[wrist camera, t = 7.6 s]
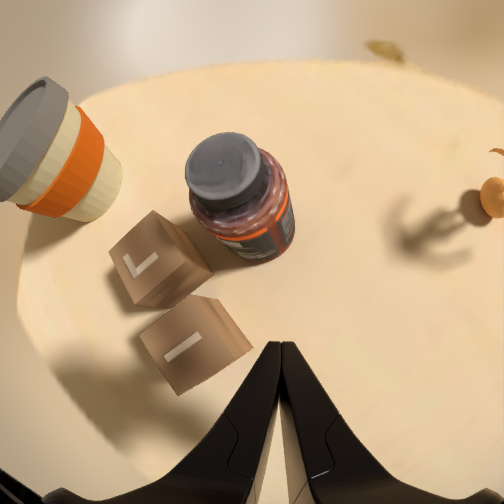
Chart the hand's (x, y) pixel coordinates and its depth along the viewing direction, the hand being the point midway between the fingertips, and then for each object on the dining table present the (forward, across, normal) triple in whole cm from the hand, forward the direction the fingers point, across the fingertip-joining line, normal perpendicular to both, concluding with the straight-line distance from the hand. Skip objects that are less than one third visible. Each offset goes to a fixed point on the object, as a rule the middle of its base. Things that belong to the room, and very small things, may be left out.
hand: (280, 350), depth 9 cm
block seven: (+14, +9, +5) cm, 18 cm away
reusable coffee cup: (+22, +22, -2) cm, 31 cm away
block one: (+10, +5, +10) cm, 15 cm away
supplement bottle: (+16, +1, +2) cm, 16 cm away
